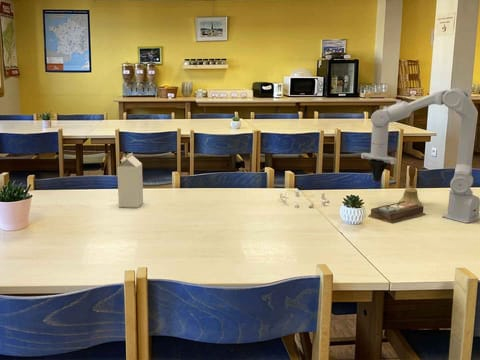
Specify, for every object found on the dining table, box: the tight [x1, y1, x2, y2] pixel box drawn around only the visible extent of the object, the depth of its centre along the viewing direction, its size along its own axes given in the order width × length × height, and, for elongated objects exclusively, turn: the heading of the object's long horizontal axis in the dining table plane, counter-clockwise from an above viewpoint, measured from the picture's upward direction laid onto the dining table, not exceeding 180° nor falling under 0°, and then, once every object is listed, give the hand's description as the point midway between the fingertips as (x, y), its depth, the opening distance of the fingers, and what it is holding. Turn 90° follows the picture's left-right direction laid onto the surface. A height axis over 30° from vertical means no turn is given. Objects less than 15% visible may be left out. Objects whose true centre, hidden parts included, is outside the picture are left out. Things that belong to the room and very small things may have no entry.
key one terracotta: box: [399, 202, 416, 208], centre depth 193 cm, size 4×4×3 cm
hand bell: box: [398, 161, 422, 206], centre depth 205 cm, size 8×8×16 cm
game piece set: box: [277, 188, 330, 209], centre depth 208 cm, size 19×20×4 cm
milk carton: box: [116, 152, 144, 209], centre depth 198 cm, size 7×7×19 cm
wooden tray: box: [368, 201, 426, 224], centre depth 189 cm, size 10×18×3 cm, turn 127°
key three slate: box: [379, 207, 396, 213], centre depth 186 cm, size 4×4×3 cm
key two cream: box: [389, 204, 406, 211], centre depth 189 cm, size 4×4×3 cm
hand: (377, 180), depth 199 cm, fingers closed
